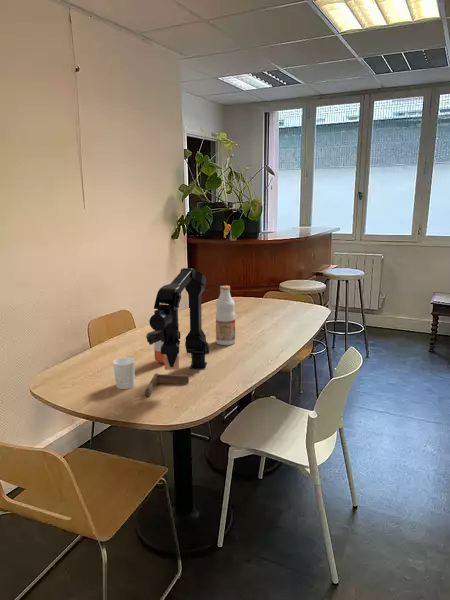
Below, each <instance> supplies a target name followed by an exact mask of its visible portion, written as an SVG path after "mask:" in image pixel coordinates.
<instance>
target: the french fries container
mask: <svg viewBox="0 0 450 600" xmlns="http://www.w3.org/2000/svg"><path fill="white" fill-rule="evenodd" d="M163 343H164V342H161V340H160V341H158V342H155V343H153V344H154V345H153V346H154V351H153V352H154V360H155V361H156V362H158V363H159V364H164V355H165V354H161V345H162V344H163Z"/></svg>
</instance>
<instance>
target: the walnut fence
mask: <svg viewBox="0 0 450 600" xmlns="http://www.w3.org/2000/svg"><path fill="white" fill-rule="evenodd" d="M189 376H190V375H188V374H161V373H160V374H159V373H154V374H153V377H152V378H151V380H150V381H149V383H148V385H147V387H146V388H145V397H147V398H150V397H151V395H152V394H153V392H154V390H155V388H156V386H157V385H158V384H159V383H160V384H187V385H188V384H189V381H190V378H189Z"/></svg>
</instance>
